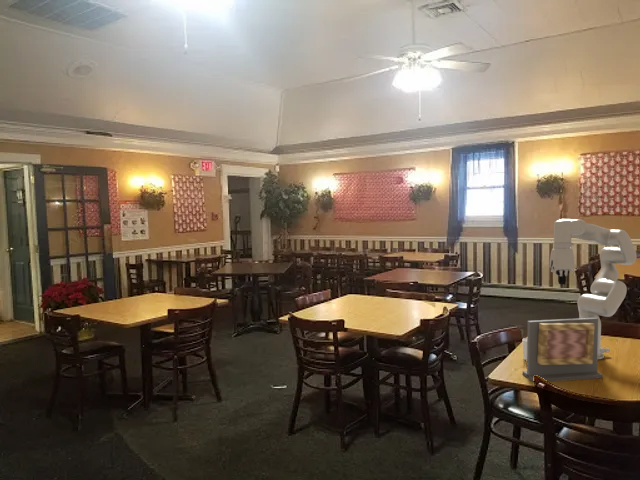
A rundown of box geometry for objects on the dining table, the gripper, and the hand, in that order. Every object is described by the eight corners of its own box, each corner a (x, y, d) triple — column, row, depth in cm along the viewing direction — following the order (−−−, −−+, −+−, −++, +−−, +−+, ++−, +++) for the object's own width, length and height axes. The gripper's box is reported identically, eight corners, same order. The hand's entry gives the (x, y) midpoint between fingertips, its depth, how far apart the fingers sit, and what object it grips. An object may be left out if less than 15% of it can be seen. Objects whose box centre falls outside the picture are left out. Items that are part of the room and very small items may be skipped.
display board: (588, 370, 229) (589, 315, 227) (602, 378, 219) (603, 320, 217) (522, 374, 227) (523, 318, 224) (533, 382, 217) (534, 324, 215)
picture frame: (588, 361, 222) (590, 322, 220) (592, 363, 219) (594, 324, 217) (537, 362, 220) (539, 323, 218) (540, 364, 217) (542, 324, 215)
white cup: (541, 362, 242) (541, 342, 241) (523, 361, 244) (524, 341, 243) (537, 357, 250) (537, 337, 249) (520, 356, 251) (520, 337, 250)
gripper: (572, 244, 239) (572, 282, 241) (543, 245, 238) (542, 283, 239) (582, 246, 232) (581, 284, 233) (551, 247, 231) (551, 286, 232)
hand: (561, 284), depth 236 cm, fingers closed
